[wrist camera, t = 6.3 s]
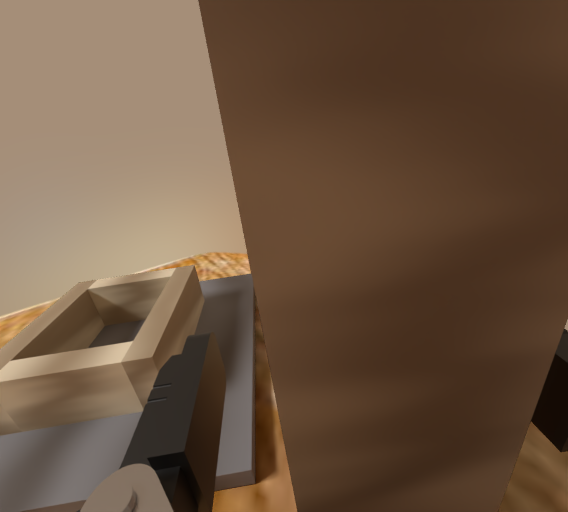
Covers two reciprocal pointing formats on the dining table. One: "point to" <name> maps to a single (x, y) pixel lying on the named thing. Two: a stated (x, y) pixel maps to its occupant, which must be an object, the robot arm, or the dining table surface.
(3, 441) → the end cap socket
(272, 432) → the dining table surface
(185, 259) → the dining table surface
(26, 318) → the dining table surface
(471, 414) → the walnut slat
